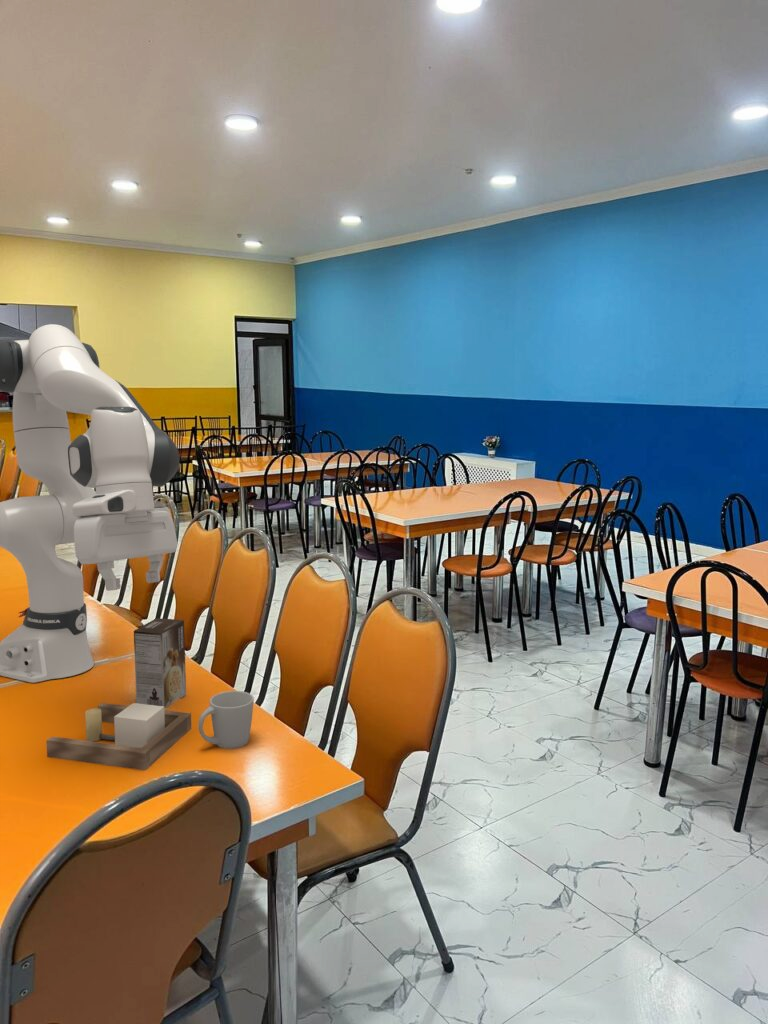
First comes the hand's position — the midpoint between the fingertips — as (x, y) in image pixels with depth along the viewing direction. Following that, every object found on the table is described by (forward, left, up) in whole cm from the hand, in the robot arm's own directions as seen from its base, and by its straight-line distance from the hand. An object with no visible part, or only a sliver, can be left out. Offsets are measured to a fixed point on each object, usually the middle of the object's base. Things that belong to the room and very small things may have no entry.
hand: (134, 586), depth 122 cm
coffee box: (-7, +21, -30) cm, 37 cm away
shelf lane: (-4, +2, -30) cm, 30 cm away
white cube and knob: (-5, +2, -29) cm, 29 cm away
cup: (+13, +6, -30) cm, 33 cm away
